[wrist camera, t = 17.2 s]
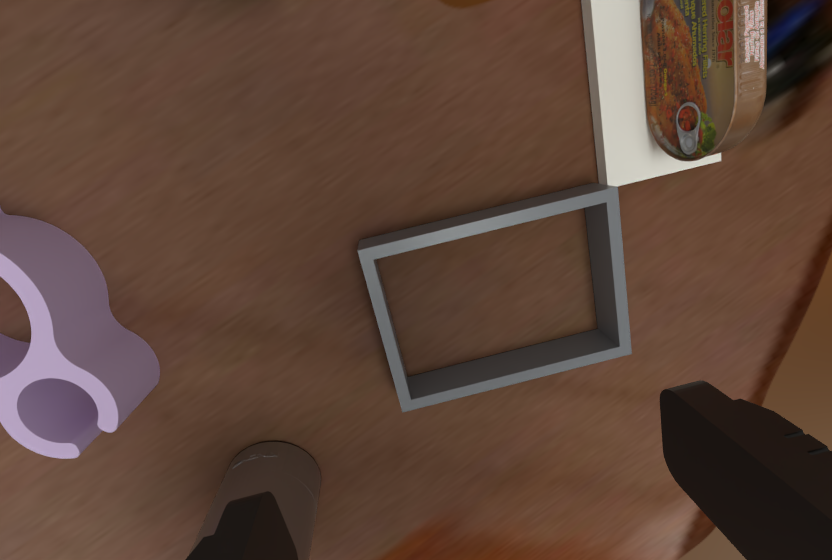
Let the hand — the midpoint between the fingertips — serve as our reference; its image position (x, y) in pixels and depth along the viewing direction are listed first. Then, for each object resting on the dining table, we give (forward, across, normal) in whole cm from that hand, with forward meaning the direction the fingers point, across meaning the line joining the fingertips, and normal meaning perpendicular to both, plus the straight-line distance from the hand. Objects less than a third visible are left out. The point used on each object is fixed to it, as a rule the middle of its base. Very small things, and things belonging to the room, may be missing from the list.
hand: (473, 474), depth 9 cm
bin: (+30, -7, +8) cm, 32 cm away
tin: (+29, -23, -8) cm, 38 cm away
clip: (+30, +30, 0) cm, 43 cm away
